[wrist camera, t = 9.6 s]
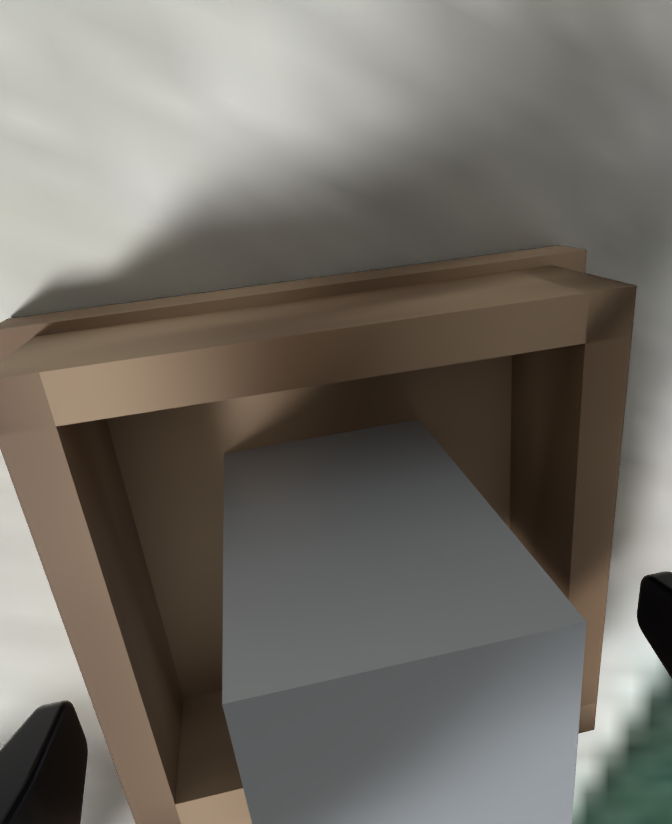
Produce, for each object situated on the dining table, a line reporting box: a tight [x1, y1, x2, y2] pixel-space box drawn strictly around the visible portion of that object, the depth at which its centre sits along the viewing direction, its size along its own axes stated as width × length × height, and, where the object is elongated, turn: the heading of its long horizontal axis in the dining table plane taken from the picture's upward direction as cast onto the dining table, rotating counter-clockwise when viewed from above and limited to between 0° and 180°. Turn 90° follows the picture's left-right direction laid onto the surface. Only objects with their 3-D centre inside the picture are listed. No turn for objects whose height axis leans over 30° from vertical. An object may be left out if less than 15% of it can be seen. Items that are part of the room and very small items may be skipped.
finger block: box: [222, 420, 587, 824], centre depth 10 cm, size 4×4×6 cm
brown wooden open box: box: [0, 245, 637, 824], centre depth 11 cm, size 11×15×6 cm
